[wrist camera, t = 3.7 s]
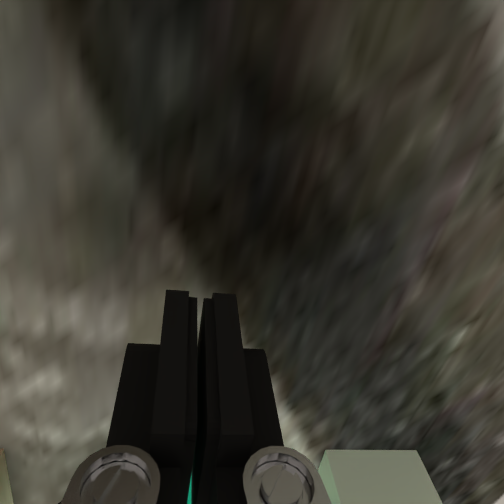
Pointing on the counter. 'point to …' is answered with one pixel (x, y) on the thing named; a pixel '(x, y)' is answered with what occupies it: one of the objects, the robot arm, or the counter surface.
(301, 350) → the counter surface
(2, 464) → the birch block
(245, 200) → the counter surface
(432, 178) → the counter surface
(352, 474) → the sage block
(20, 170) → the counter surface
